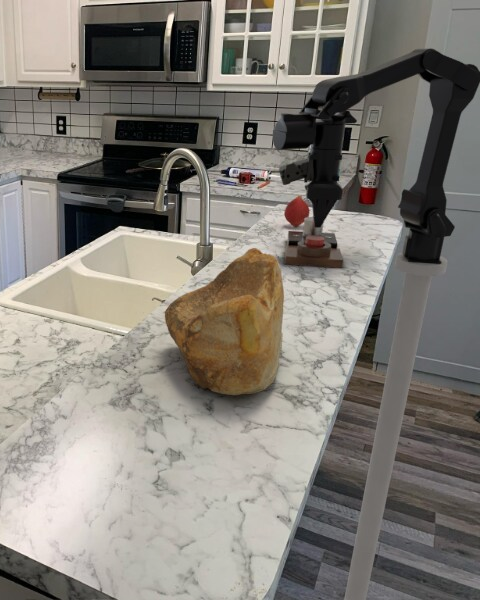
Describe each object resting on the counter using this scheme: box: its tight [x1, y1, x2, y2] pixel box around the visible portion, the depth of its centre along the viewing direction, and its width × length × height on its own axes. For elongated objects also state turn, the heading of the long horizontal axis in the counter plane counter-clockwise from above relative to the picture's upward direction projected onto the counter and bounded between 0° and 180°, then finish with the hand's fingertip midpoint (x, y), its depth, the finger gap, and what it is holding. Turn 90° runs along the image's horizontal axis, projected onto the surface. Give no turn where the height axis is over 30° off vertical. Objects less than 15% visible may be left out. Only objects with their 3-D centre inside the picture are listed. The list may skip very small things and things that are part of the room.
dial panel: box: [286, 230, 338, 248], centre depth 136 cm, size 10×8×3 cm
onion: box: [284, 194, 310, 228], centre depth 151 cm, size 6×6×8 cm
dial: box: [302, 216, 325, 238], centre depth 135 cm, size 4×4×4 cm
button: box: [305, 236, 324, 247], centre depth 127 cm, size 4×4×2 cm
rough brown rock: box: [164, 247, 285, 396], centre depth 86 cm, size 23×17×15 cm
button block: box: [284, 240, 344, 269], centre depth 128 cm, size 11×8×4 cm
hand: (316, 224), depth 126 cm, fingers open, 4 cm apart
